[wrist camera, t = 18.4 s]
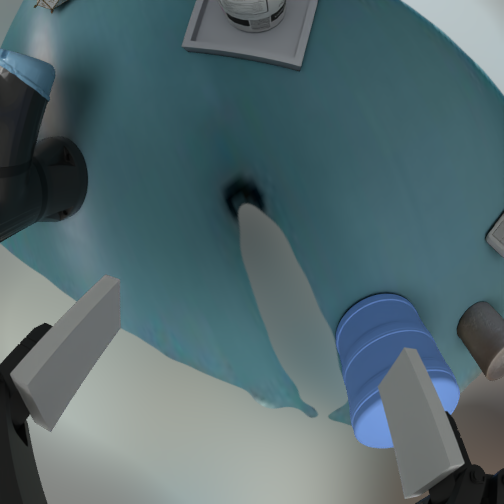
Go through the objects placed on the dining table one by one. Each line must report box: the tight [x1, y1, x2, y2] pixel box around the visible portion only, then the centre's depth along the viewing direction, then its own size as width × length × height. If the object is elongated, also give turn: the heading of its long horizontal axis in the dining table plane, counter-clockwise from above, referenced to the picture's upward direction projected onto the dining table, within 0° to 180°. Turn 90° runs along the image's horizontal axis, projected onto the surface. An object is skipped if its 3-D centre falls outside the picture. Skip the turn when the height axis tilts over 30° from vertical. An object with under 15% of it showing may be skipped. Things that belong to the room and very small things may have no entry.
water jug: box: [336, 294, 460, 448], centre depth 36 cm, size 16×16×28 cm
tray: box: [182, 0, 318, 71], centre depth 30 cm, size 16×16×3 cm
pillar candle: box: [457, 302, 504, 381], centre depth 40 cm, size 10×10×15 cm
